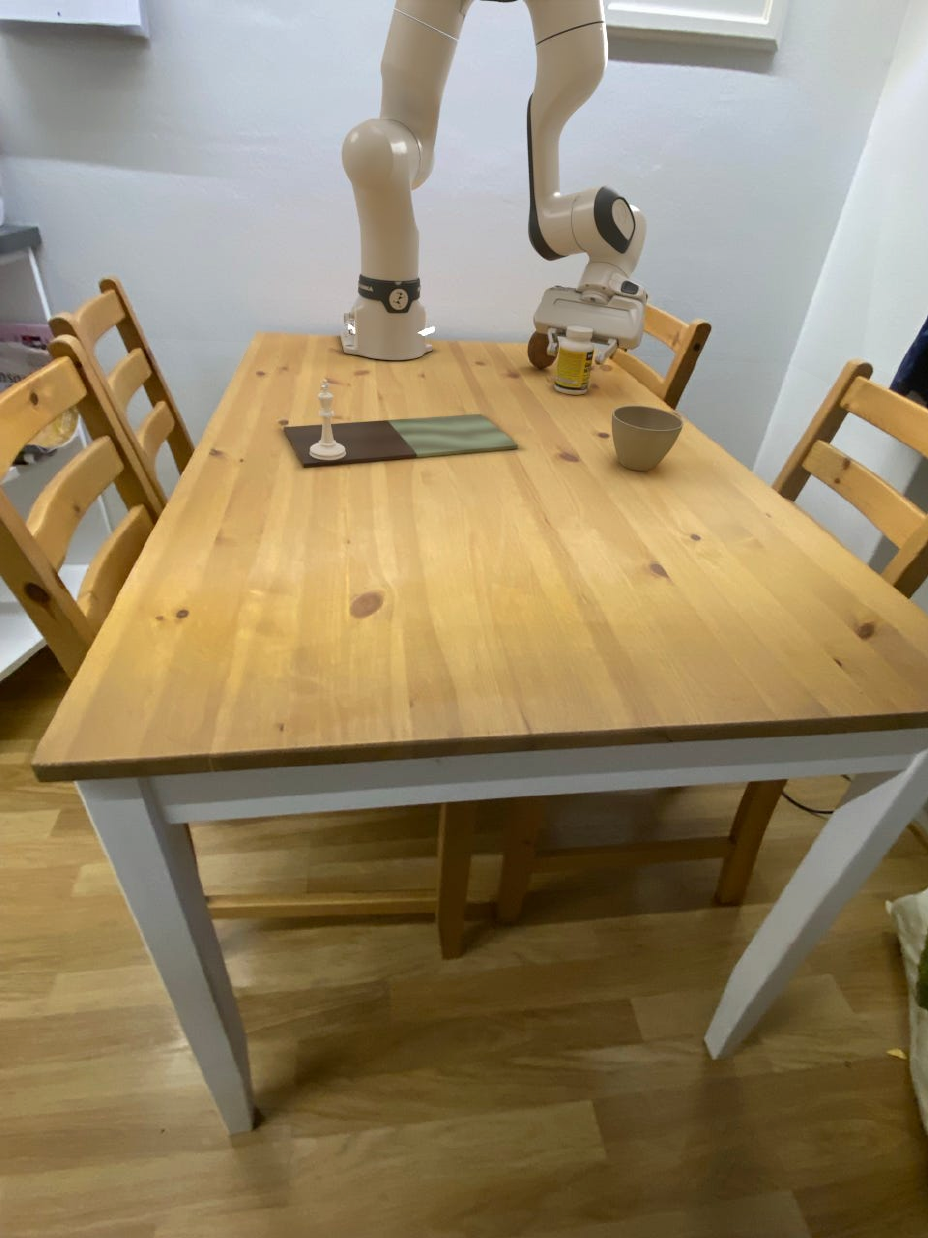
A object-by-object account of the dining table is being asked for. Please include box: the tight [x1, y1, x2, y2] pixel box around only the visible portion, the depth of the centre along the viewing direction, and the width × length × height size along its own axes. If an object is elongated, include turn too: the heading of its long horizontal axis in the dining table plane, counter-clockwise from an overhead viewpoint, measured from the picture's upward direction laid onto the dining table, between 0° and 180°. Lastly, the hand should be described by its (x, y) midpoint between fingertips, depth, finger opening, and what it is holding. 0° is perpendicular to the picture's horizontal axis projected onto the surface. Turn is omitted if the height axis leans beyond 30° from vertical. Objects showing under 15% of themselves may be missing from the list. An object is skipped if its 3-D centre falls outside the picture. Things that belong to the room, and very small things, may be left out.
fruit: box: [527, 329, 560, 370], centre depth 139 cm, size 6×6×8 cm
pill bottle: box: [553, 326, 595, 396], centre depth 127 cm, size 6×6×11 cm
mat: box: [283, 413, 519, 468], centre depth 104 cm, size 14×32×1 cm, turn 112°
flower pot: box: [611, 404, 684, 472], centre depth 100 cm, size 10×10×7 cm
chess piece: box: [310, 379, 346, 460], centre depth 93 cm, size 5×5×10 cm
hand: (574, 358), depth 127 cm, fingers open, 8 cm apart
